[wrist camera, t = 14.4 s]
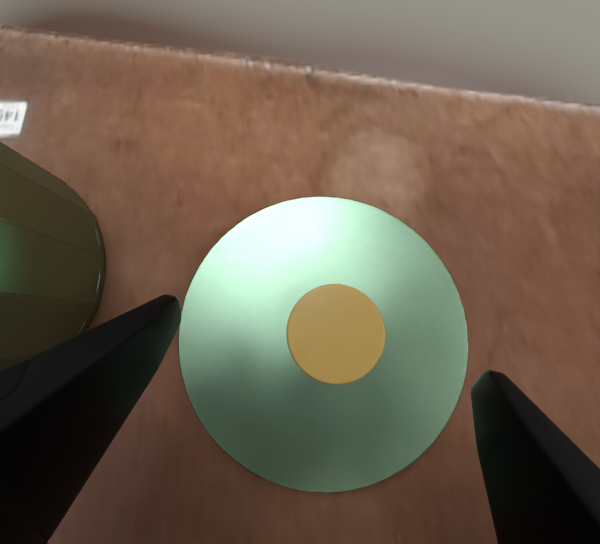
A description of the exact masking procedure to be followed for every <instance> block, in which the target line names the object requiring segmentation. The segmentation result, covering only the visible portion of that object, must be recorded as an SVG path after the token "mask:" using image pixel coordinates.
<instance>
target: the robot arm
mask: <svg viewBox="0 0 600 544" xmlns="http://www.w3.org/2000/svg"><path fill="white" fill-rule="evenodd" d="M180 322H181V308H180V300H179V298H178V297H175V296H171V295H162V296H160V297H158V298H156V299H153V300H151V301H149V302H147V303H145V304H143V305H141V306H139V307H137V308H135V309H132V310H130V311H128V312H126V313H124V314H122V315H120V316H118V317H116V318H114V319H111V320H109V321H107V322H105V323H103V324H101V325H99V326H97V327H95V328H92V329H90V330H88V331H86V332H84V333H82V334H80V335H78V336H76V337H74V338H71V339H69V340H67V341H65V342H63V343H61V344H59V345H57V346H55V347H53V348H50V349H48V350H46V351H44V352H42V353H40V354H38V355H36V356H34V357H32V358H31V360H30V359H27V360H25V361H23V362H21V363H19V364H17V365H14V366H12V367H10V368H8V369H6V370H4V371H1V372H0V544H47V543H48V540H49V539H50V538H51V536H52V535H53V533H54V531H55V530H56V528H57V527H58V525H59V524H60V522H61V520H62V519H63V517H64V516H65V514H66V513H67V511H68V509H69V508H70V506H71V505H72V503H73V502H74V500H75V498H76V497H77V495H78V494H79V492H80V491H81V489H82V487H83V486H84V484H85V483H86V481H87V480H88V478H89V476H90V475H91V473H92V472H93V470H94V469H95V467H96V466H97V464H98V462H99V461H100V459H101V458H102V456H103V455H104V453H105V451H106V450H107V448H108V447H109V445H110V444H111V442H112V440H113V439H114V437H115V436H116V434H117V433H118V431H119V429H120V428H121V426H122V425H123V423H124V422H125V420H126V418H127V417H128V415H129V414H130V412H131V411H132V409H133V407H134V406H135V404H136V403H137V401H138V400H139V398H140V396H141V395H142V393H143V392H144V390H145V389H146V387H147V385H148V384H149V382H150V381H151V379H152V378H153V376H154V374H155V373H156V371H157V369H158V368H159V366H160V364H161V362H162V360H163V358H164V356H165V354H166V352H167V350H168V348H169V346H170V344H171V341H172V339H173V337H174V335H175V333H176V331H177V329H178V327H179V325H180ZM471 399H472V408H473V417H474V426H475V435H476V443H477V449H478V455H479V459H480V464H481V468H482V473H483V478H484V482H485V487H486V491H487V496H488V500H489V505H490V509H491V514H492V518H493V523H494V527H495V532H496V536H497V541H498V544H600V469H599V468H598V467H597V466H596V465H595V464H594V463H593V462H592V461H591V460H590V459H589V458H588V457H587V456H586V455H585V454H584V453H583V452H582V451H581V450H580V449H579V448H578V447H577V446H576V445H575V444H574V443H573V442H572V441H571V440H570V439H569V438H568V437H567V436H566V435H565V434H564V433H563V432H562V431H561V430H560V429H559V428H558V427H557V426H556V425H555V424H554V423H553V422H552V421H551V420H550V419H549V418H548V417H547V416H546V415H545V414H544V413H543V412H542V411H541V410H540V409H539V408H538V407H537V406H536V405H535V404H534V403H533V402H532V401H531V400H530V399H529V398H528V397H527V396H526V395H525V394H524V393H523V392H522V391H521V390H520V389H519V388H518V387H517V386H516V385H515V384H514V383H513V382H512V381H511V380H510V379H509V378H508V377H507V376H506V375H505V374H503V373H500V372H496V371H492V370H487V371H485V372H484V373H483V374H482V375H481V377H480V378H479V379H478V380H477V382H476V383H475V384H474V385H473V387H472V390H471Z"/></svg>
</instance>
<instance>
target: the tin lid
mask: <svg viewBox="0 0 600 544" xmlns="http://www.w3.org/2000/svg"><path fill="white" fill-rule="evenodd" d="M178 351H179V361H180V368H181V374H182V378H183V381H184V385H185V389H186V392H187V395H188V397H189V399H190V402H191V404H192V407H193V409H194V411H195V413H196V415H197V416H198V418H199V420H200V421H201V423H202V425H203V426H204V428H205V429H206V431H207V432H208V433H209V435H210V436H211V437H212V438H213V440H214V441H215V442H216V443H217V445H218V446H219V447H221V448H222V449H223V450H224V451H225V452H226V453H227V454H228V455H229V456H230V457H231V458H232V459H233V460H235V461H236V462H237V463H239V464H240V465H242V466H243V467H244V468H246V469H247V470H248V471H250V472H252V473H254V474H256V475H258V476H260V477H261V478H263V479H265V480H267V481H270V482H273V483H276V484H278V485H281V486H284V487H287V488H292V489H296V490H301V491H306V492H322V493H331V492H342V491H350V490H354V489H358V488H362V487H367V486H370V485H372V484H375V483H377V482H380V481H382V480H385V479H387V478H389V477H391V476H392V475H394V474H396V473H398V472H399V471H401V470H403V469H404V468H406V467H407V466H408V465H410V464H411V463H412V462H413V461H415V460H416V459H417V458H418V457H420V456H421V455H422V454H423V453H424V452H425V451H426V450H427V449H428V448H429V446H430V445H431V444H432V443H433V442H434V441H435V440H436V439H437V437H438V436H439V434H440V433H441V431H442V430H443V429H444V427H445V426H446V424H447V423H448V421H449V419H450V417H451V415H452V413H453V411H454V409H455V407H456V405H457V402H458V399H459V396H460V393H461V391H462V388H463V384H464V379H465V374H466V369H467V358H468V335H467V325H466V319H465V314H464V309H463V306H462V303H461V300H460V297H459V293H458V291H457V288H456V286H455V284H454V282H453V280H452V278H451V276H450V274H449V272H448V270H447V269H446V267H445V266H444V264H443V262H442V261H441V259H440V258H439V257H438V255H437V254H436V253H435V252H434V250H433V249H432V248H431V247H430V245H429V244H428V243H427V242H426V241H425V240H424V239H423V238H422V237H421V236H420V235H418V234H417V233H416V232H415V231H414V230H413V229H411V228H410V227H409V226H407V225H406V224H405V223H403V222H402V221H401V220H399V219H397V218H396V217H394V216H392V215H390V214H389V213H387V212H385V211H383V210H381V209H378V208H376V207H373V206H371V205H369V204H365V203H362V202H358V201H355V200H350V199H344V198H338V197H320V196H316V197H305V198H297V199H293V200H288V201H283V202H280V203H278V204H275V205H272V206H269V207H266V208H264V209H262V210H260V211H258V212H256V213H254V214H252V215H250V216H249V217H247V218H246V219H244V220H243V221H241V222H240V223H238V224H237V225H235V226H234V227H233V228H232V229H231V230H229V231H228V232H227V233H226V234H225V235H224V236H222V238H221V239H220V240H219V241H218V242H217V243H216V244H215V245H214V246H213V247H212V248H211V250H210V251H209V252H208V254H207V255H206V257H205V258H204V260H203V261H202V262H201V264H200V265H199V267H198V269H197V271H196V273H195V275H194V277H193V279H192V280H191V283H190V286H189V288H188V291H187V294H186V296H185V299H184V303H183V308H182V312H181V322H180V325H179V333H178Z"/></svg>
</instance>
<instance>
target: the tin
mask: <svg viewBox="0 0 600 544" xmlns="http://www.w3.org/2000/svg"><path fill="white" fill-rule="evenodd" d="M104 275H105V250H104V245H103V239H102V235H101V232H100V229H99V226H98V224H97V222H96V220H95V218H94V216H93V214H92V212H91V210H90V209H89V208H88V206H87V205H86V203H85V202H84V201H83V200H82V199H81V198H80V197H79V196H78V195H77V194H76V192H75V191H73V190H72V189H71V188H70V187H69V186H68V185H67V184H66V183H65V182H64V181H63V180H61V179H59V178H58V177H56V176H55V175H53V174H51V173H50V172H48V171H46V170H45V169H43V168H42V167H40V166H38V165H37V164H35V163H34V162H32V161H30V160H29V159H27V158H25V157H24V156H22V155H21V154H19V153H17V152H16V151H14V150H12V149H11V148H9V147H8V146H6V145H4V144H3V143H1V142H0V372H1V371H4V370H6V369H8V368H10V367H12V366H14V365H17V364H19V363H21V362H23V361H25V360H27V359H30V360H31V358H32V357H34V356H36V355H38V354H40V353H42V352H44V351H46V350H48V349H50V348H53V347H55V346H57V345H59V344H61V343H63V342H65V341H67V340H69V339H71V338H74V337H76V336H78V335H80V334H82V333H84V332H85V330H86V329H87V327H88V325H89V323H90V321H91V319H92V317H93V315H94V313H95V311H96V308H97V305H98V302H99V299H100V296H101V292H102V288H103V283H104Z"/></svg>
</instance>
